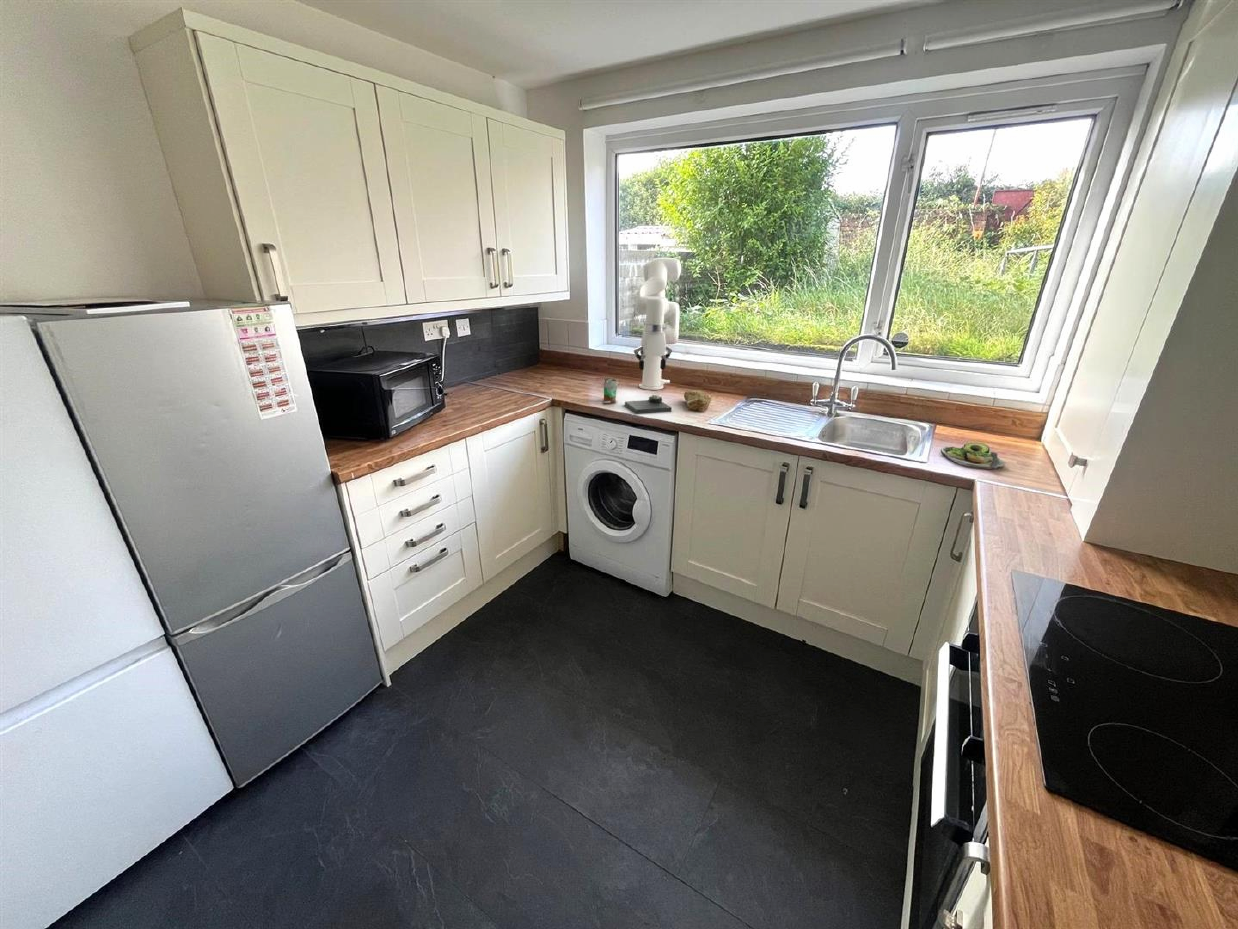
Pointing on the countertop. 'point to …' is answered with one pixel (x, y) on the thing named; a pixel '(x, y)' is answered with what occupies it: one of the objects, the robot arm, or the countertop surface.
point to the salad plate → (973, 456)
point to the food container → (610, 390)
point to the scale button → (655, 396)
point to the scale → (648, 406)
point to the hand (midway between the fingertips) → (652, 369)
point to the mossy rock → (697, 400)
